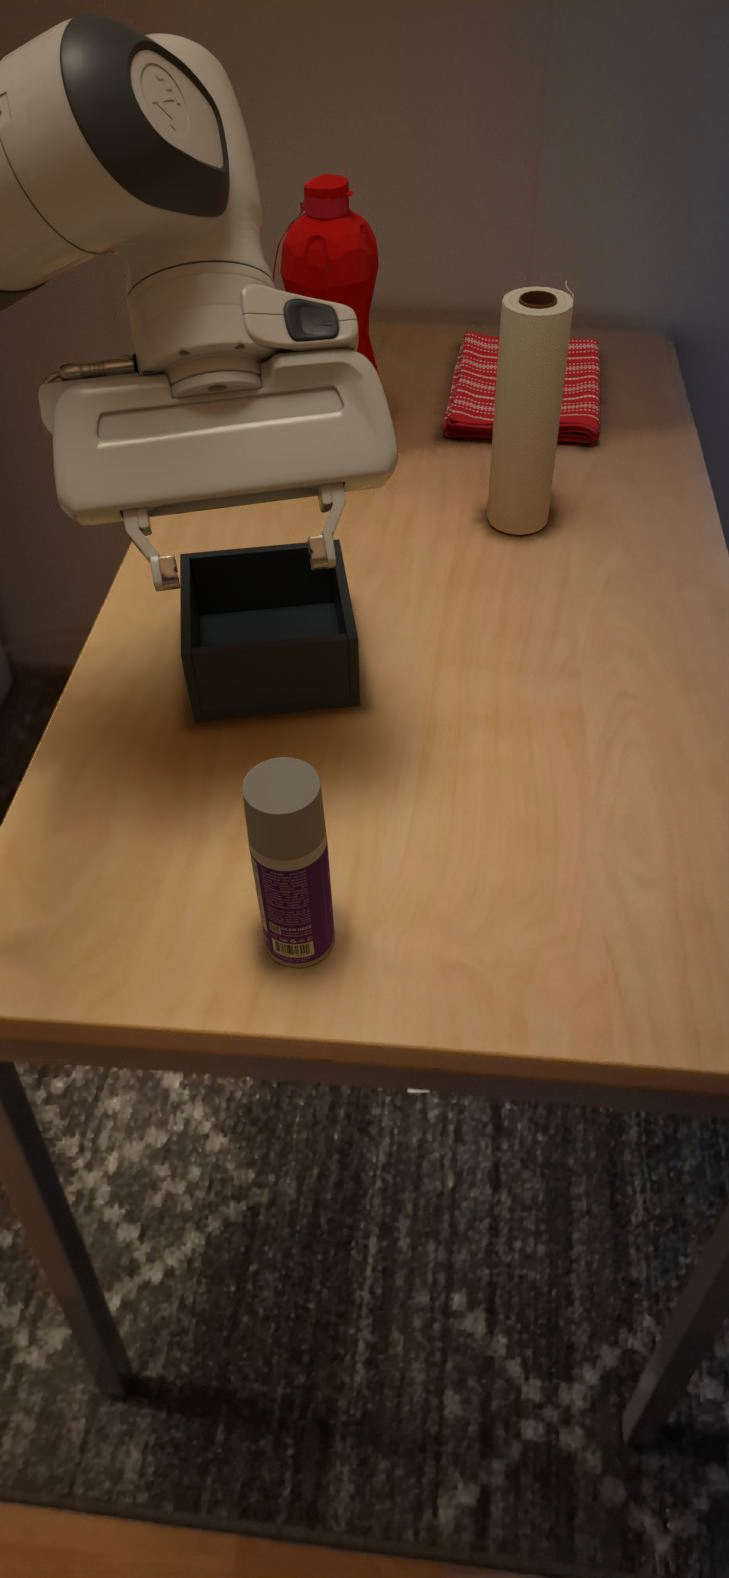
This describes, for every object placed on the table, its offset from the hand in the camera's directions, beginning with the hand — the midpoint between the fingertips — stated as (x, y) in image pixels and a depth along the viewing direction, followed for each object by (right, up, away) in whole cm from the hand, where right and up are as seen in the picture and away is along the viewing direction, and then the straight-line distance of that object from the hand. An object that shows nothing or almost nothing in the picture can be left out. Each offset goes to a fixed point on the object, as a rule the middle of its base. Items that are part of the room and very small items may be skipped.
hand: (246, 578), depth 63 cm
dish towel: (+26, +33, +58) cm, 72 cm away
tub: (-1, -2, +27) cm, 27 cm away
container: (+3, -23, +7) cm, 24 cm away
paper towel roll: (+23, +14, +41) cm, 49 cm away
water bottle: (+3, +28, +55) cm, 61 cm away
